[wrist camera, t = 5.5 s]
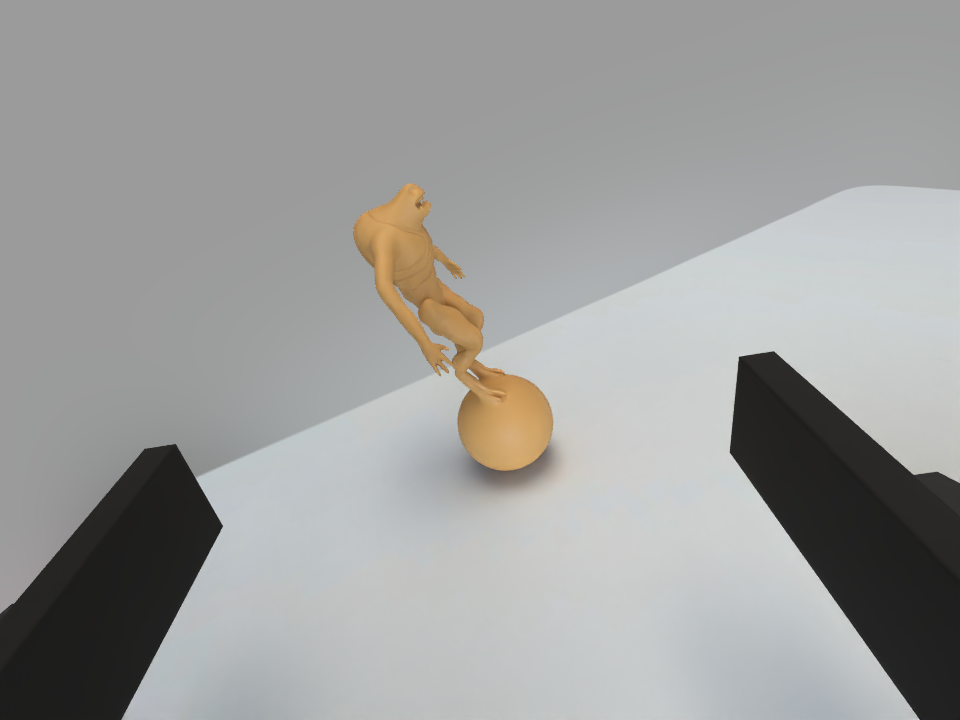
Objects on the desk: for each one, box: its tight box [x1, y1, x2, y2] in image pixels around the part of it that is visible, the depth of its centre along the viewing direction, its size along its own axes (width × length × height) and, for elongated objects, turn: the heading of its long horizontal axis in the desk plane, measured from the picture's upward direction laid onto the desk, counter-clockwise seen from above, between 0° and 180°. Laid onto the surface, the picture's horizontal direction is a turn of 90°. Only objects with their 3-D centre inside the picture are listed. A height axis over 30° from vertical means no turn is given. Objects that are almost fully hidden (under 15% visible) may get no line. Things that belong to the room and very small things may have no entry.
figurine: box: [353, 183, 553, 471], centre depth 20 cm, size 8×6×12 cm
